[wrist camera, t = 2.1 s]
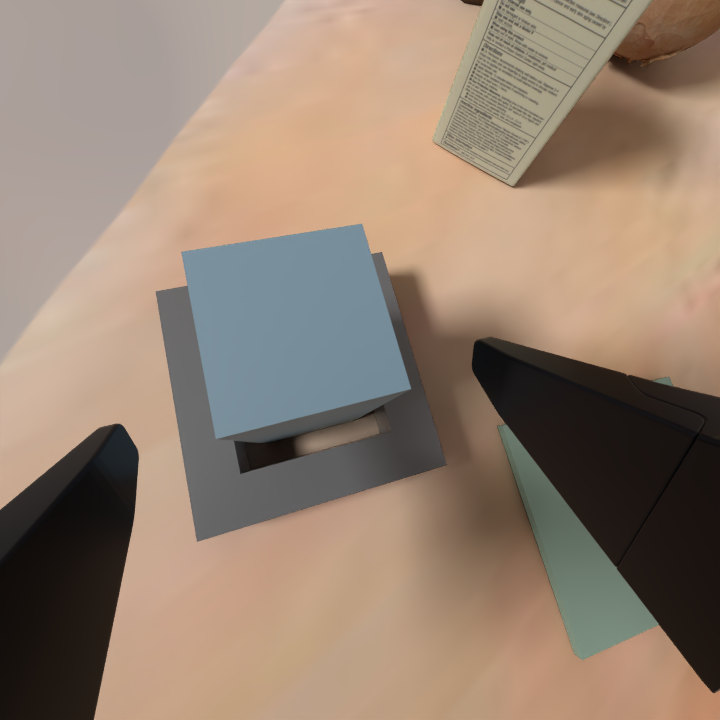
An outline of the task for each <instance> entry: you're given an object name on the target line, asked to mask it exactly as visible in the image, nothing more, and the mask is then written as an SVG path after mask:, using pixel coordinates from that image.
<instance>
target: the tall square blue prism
mask: <svg viewBox="0 0 720 720" xmlns="http://www.w3.org/2000/svg"><path fill="white" fill-rule="evenodd" d="M181 253H182V258H183V263H184V269H185V274H186V280H187V285H188V291H189V296H190V301H191V307H192V312H193V318H194V323H195V328H196V334H197V339H198V345H199V350H200V356H201V361H202V366H203V372H204V377H205V383H206V388H207V394H208V399H209V404H210V410H211V415H212V421H213V426H214V431H215V437H216V439H221V440H232V441H244V442H256V443H270V442H274V441H278V440H282V439H285V438H289V437H293V436H297V435H300V434H304V433H308V432H312V431H315V430H319V429H323V428H327V427H330V426H334V425H338V424H342V423H345V422H349V421H353V420H356V419H358V418H360V417H362V416H364V415H365V414H367V413H369V412H371V411H373V410H374V409H376V408H378V407H380V406H382V405H383V404H385V403H387V402H389V401H391V400H392V399H394V398H396V397H398V396H399V395H401V394H403V393H405V392H407V391H408V390H410V389H411V387H410V383H409V380H408V376H407V373H406V370H405V366H404V363H403V360H402V356H401V353H400V350H399V346H398V343H397V340H396V336H395V333H394V330H393V326H392V323H391V319H390V316H389V313H388V309H387V306H386V303H385V299H384V296H383V293H382V289H381V286H380V283H379V279H378V276H377V272H376V269H375V266H374V262H373V259H372V256H371V252H370V249H369V246H368V242H367V239H366V236H365V232H364V229H363V226H362V224H358V225H351V226H345V227H338V228H332V229H326V230H319V231H313V232H306V233H300V234H293V235H287V236H281V237H274V238H268V239H261V240H255V241H248V242H242V243H236V244H229V245H223V246H216V247H210V248H204V249H197V250H191V251H184V252H181Z"/></svg>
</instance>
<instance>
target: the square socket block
mask: <svg viewBox="0 0 720 720" xmlns="http://www.w3.org/2000/svg"><path fill="white" fill-rule="evenodd" d="M371 256H372V259H373V262H374V266H375V269H376V272H377V276H378V279H379V283H380V286H381V289H382V293H383V296H384V299H385V303H386V306H387V309H388V313H389V316H390V319H391V323H392V326H393V330H394V333H395V336H396V340H397V343H398V346H399V350H400V353H401V356H402V360H403V363H404V366H405V370H406V373H407V376H408V380H409V383H410V387H411V389H410V390H408V391H407V392H405V393H403V394H401V395H399V396H398V397H396V398H394V399H392V400H391V401H389V402H387V403H385V404H383V405H382V406H380V407H378V408H376V409H374V413H375V416H376V420H377V424H378V427H379V431H380V434H378V435H375V436H371V437H367V438H364V439H360V440H357V441H353V442H349V443H346V444H342V445H339V446H335V447H331V448H328V449H324V450H321V451H317V452H313V453H310V454H306V455H303V456H299V457H295V458H292V459H288V460H285V461H281V462H277V463H274V464H270V465H267V466H263V467H259V468H256V469H252V470H250V468H249V463H248V458H247V453H246V448H245V443H244V441H232V440H221V439H216V437H215V431H214V426H213V421H212V415H211V410H210V404H209V399H208V394H207V388H206V383H205V377H204V372H203V366H202V361H201V356H200V350H199V345H198V339H197V334H196V328H195V323H194V318H193V312H192V307H191V301H190V296H189V291H188V286H184V287H179V288H173V289H167V290H161V291H156V296H157V302H158V308H159V314H160V320H161V326H162V333H163V339H164V345H165V351H166V357H167V363H168V369H169V375H170V381H171V387H172V393H173V399H174V405H175V411H176V417H177V423H178V429H179V435H180V441H181V448H182V454H183V460H184V466H185V472H186V478H187V484H188V490H189V496H190V502H191V508H192V514H193V520H194V526H195V532H196V538H197V542H198V541H201V540H204V539H208V538H211V537H214V536H217V535H221V534H224V533H227V532H230V531H234V530H237V529H240V528H243V527H247V526H250V525H253V524H256V523H260V522H263V521H266V520H269V519H273V518H276V517H279V516H282V515H286V514H289V513H292V512H295V511H299V510H302V509H305V508H308V507H312V506H315V505H318V504H321V503H325V502H328V501H331V500H334V499H338V498H341V497H344V496H347V495H351V494H354V493H357V492H360V491H364V490H367V489H370V488H373V487H377V486H380V485H383V484H386V483H390V482H393V481H396V480H399V479H403V478H406V477H409V476H412V475H416V474H419V473H422V472H425V471H429V470H432V469H435V468H438V467H442V466H445V465H447V464H446V461H445V457H444V454H443V451H442V447H441V444H440V441H439V438H438V434H437V431H436V428H435V424H434V421H433V418H432V415H431V411H430V408H429V405H428V401H427V398H426V395H425V392H424V388H423V385H422V382H421V379H420V375H419V372H418V369H417V365H416V362H415V359H414V356H413V352H412V349H411V346H410V342H409V339H408V336H407V333H406V329H405V326H404V323H403V320H402V316H401V313H400V310H399V306H398V303H397V300H396V297H395V293H394V290H393V287H392V283H391V280H390V277H389V274H388V270H387V267H386V264H385V260H384V257H383V254H382V252H380V253H374V254H371Z"/></svg>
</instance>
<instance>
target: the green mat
mask: <svg viewBox="0 0 720 720" xmlns="http://www.w3.org/2000/svg"><path fill="white" fill-rule="evenodd" d="M653 381H654V382H658V383H662V384H666V385H669V386H673V384H672V382H671V380H670V378H669V377H665V378H660V379H657V380H653ZM497 427H498V430H499V433H500V435H501V438H502V441H503V444H504V447H505V450H506V453H507V456H508V459H509V462H510V465H511V468H512V471H513V474H514V477H515V480H516V483H517V486H518V489H519V492H520V494H521V497H522V500H523V503H524V506H525V509H526V512H527V515H528V518H529V521H530V524H531V527H532V530H533V533H534V536H535V539H536V542H537V545H538V548H539V551H540V554H541V556H542V559H543V562H544V565H545V568H546V571H547V574H548V577H549V580H550V583H551V586H552V589H553V592H554V595H555V598H556V601H557V604H558V607H559V610H560V613H561V615H562V618H563V621H564V624H565V627H566V630H567V633H568V636H569V639H570V642H571V645H572V648H573V651H574V654H575V655H577V656H578V657H579V658H580V659H582V660H583V659H586V658H588V657H590V656H592V655H594V654H596V653H599V652H601V651H603V650H605V649H607V648H609V647H612V646H614V645H616V644H618V643H620V642H622V641H625V640H627V639H629V638H631V637H633V636H635V635H638V634H640V633H642V632H644V631H646V630H648V629H651V628H653V627H655V626H657V625H659V624H658V623H657V621H656V620H655V619H654V617H653V616H652V615H651V613H650V612H649V611H648V609H647V608H646V607H645V606H644V604H643V603H642V602H641V600H640V599H639V598H638V596H637V595H636V594H635V592H634V591H633V590H632V589H631V587H630V586H629V585H628V583H627V582H626V581H625V579H624V578H623V577H622V575H621V574H620V573H619V572H618V570H617V567H615V566H614V565H613V563H612V562H611V561H610V559H609V558H608V557H607V555H606V554H605V553H604V552H603V550H602V549H601V548H600V546H599V545H598V544H597V542H596V541H595V540H594V538H593V537H592V536H591V535H590V533H589V532H588V531H587V529H586V528H585V527H584V525H583V524H582V523H581V521H580V520H579V519H578V518H577V516H576V515H575V514H574V512H573V511H572V510H571V508H570V507H569V506H568V504H567V503H566V502H565V501H564V499H563V498H562V497H561V495H560V494H559V493H558V491H557V490H556V489H555V487H554V486H553V485H552V484H551V482H550V481H549V480H548V478H547V477H546V476H545V474H544V473H543V472H542V470H541V469H540V468H539V467H538V465H537V464H536V463H535V461H534V460H533V459H532V457H531V456H530V455H529V453H528V452H527V451H526V450H525V448H524V447H523V446H522V444H521V443H520V442H519V440H518V439H517V438H516V436H515V435H514V434H513V433H512V431H511V430H510V429H509V427H508V426H507V425H506V424H503V425H500V426H497Z"/></svg>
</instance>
